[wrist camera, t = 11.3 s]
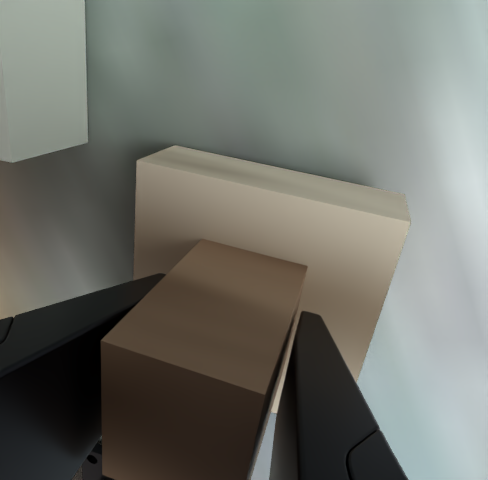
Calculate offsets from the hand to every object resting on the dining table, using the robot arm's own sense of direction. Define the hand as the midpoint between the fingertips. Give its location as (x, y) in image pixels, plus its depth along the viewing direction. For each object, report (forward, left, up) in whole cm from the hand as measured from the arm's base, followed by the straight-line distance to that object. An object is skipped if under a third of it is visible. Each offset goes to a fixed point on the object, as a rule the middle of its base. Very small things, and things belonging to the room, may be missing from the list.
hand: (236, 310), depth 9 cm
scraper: (0, 0, -3) cm, 3 cm away
